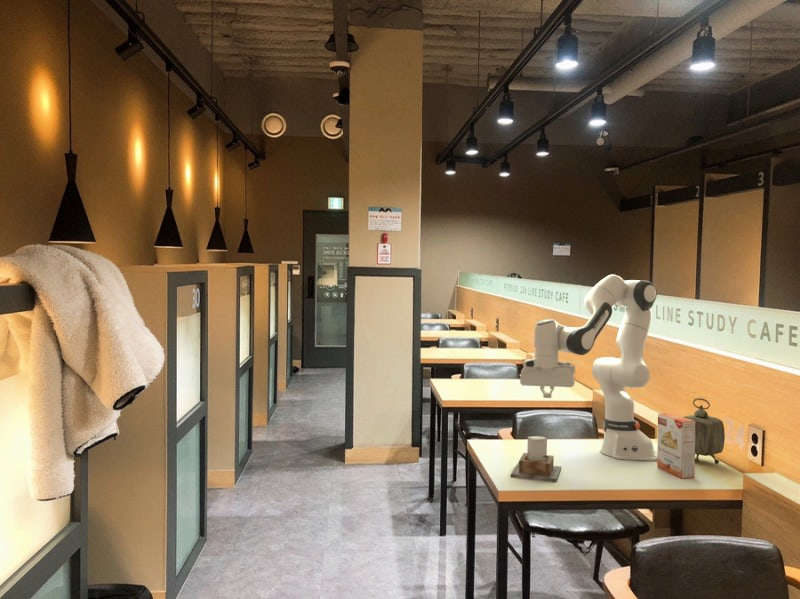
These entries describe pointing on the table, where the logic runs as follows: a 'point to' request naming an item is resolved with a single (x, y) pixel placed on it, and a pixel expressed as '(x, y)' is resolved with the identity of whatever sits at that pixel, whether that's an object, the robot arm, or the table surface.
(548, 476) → the box holder
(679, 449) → the cracker box
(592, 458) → the table surface
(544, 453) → the skincare box
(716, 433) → the tabletop clock
